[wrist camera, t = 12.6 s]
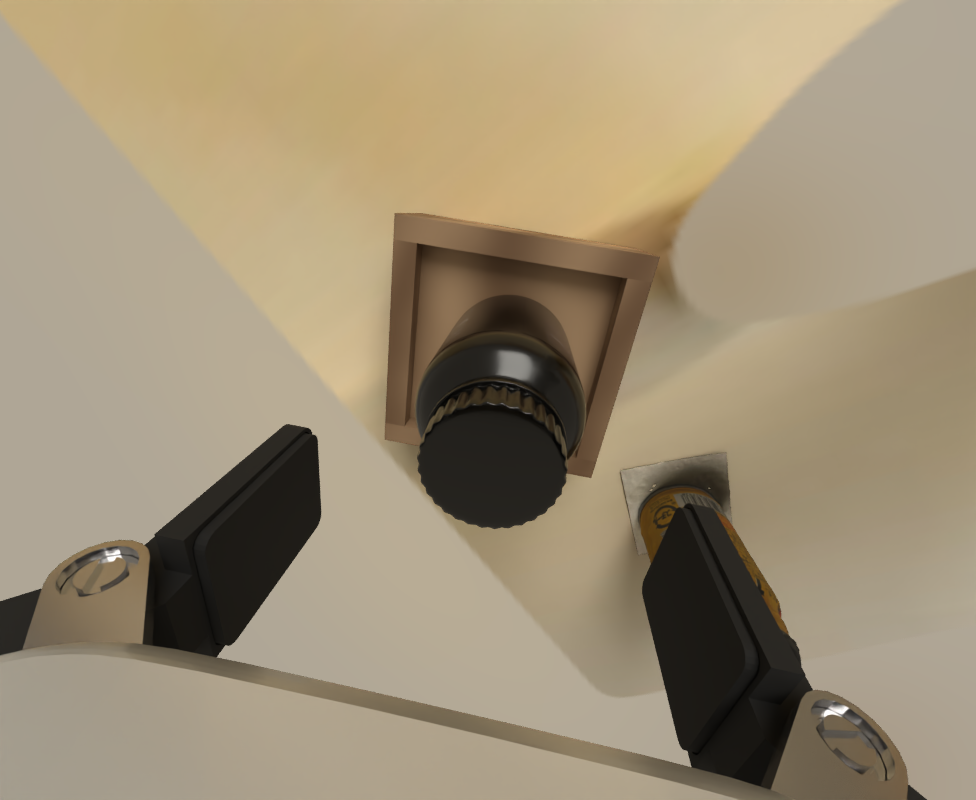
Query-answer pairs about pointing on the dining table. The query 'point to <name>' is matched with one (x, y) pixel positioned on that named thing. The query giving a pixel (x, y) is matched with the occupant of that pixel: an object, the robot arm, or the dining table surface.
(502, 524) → the supplement bottle
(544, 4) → the dining table surface
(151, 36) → the dining table surface
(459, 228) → the walnut tray
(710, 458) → the condiment
